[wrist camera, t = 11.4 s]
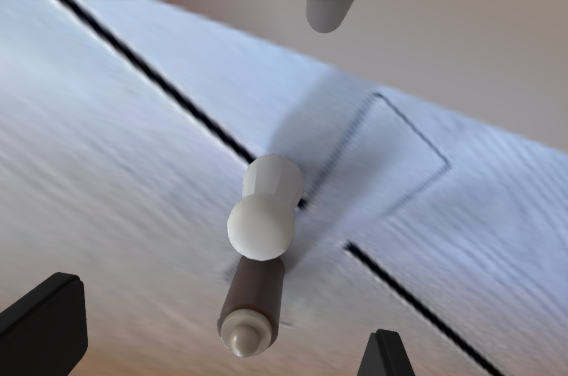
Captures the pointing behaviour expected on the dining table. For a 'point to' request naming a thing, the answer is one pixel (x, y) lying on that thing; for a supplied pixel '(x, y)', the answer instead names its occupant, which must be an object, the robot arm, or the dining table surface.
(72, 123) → the dining table surface
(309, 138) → the dining table surface
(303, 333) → the dining table surface
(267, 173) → the salt shaker
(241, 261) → the pepper mill
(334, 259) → the dining table surface
